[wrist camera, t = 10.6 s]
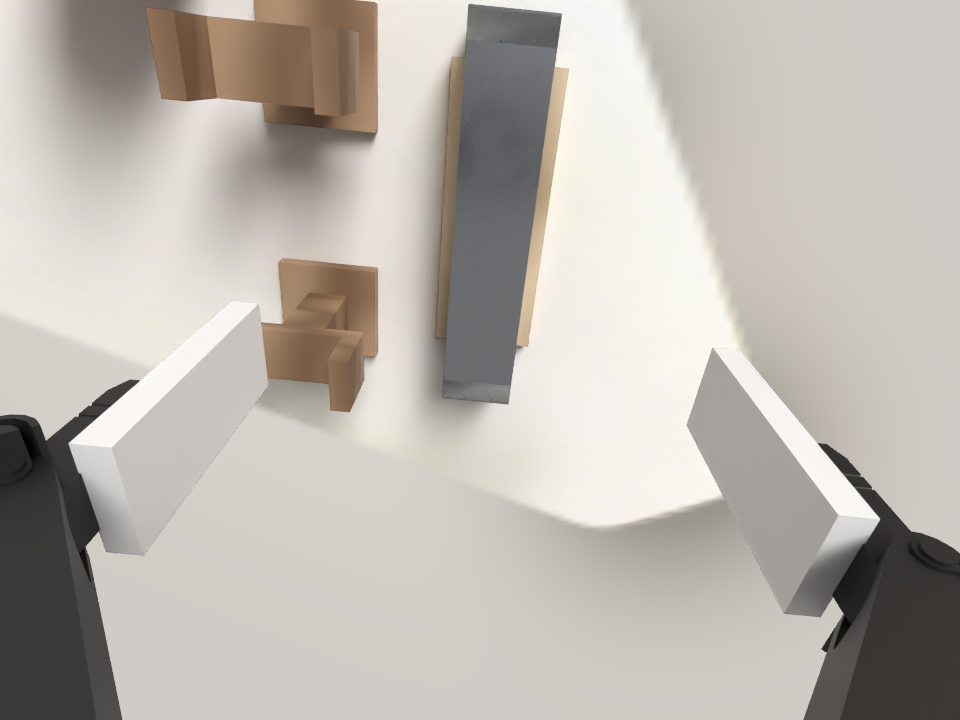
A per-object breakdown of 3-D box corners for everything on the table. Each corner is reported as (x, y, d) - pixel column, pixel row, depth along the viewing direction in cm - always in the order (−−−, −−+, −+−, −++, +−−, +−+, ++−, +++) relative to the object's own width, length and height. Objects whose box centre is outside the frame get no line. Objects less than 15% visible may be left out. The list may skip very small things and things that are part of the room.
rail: (448, 365, 36) (442, 397, 33) (473, 12, 26) (468, 3, 23) (507, 371, 36) (508, 404, 33) (554, 20, 26) (562, 13, 23)
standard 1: (283, 342, 37) (218, 422, 28) (274, 257, 34) (200, 319, 26) (385, 352, 37) (350, 435, 29) (385, 268, 34) (347, 334, 26)
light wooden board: (437, 330, 36) (436, 337, 35) (453, 57, 28) (451, 56, 27) (526, 339, 36) (527, 346, 35) (567, 68, 28) (569, 68, 27)
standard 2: (261, 119, 30) (168, 139, 22) (249, -10, 27) (136, -44, 19) (386, 132, 30) (341, 157, 22) (387, 4, 27) (335, -23, 19)
